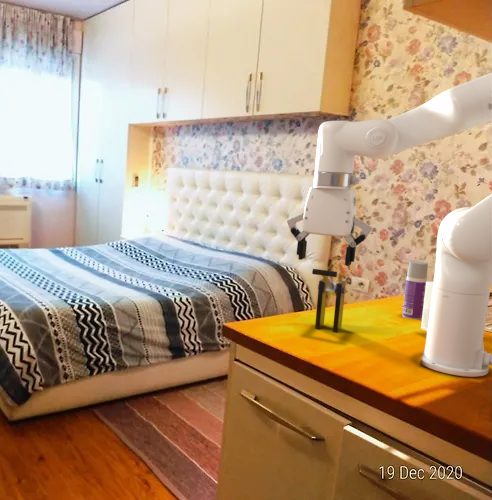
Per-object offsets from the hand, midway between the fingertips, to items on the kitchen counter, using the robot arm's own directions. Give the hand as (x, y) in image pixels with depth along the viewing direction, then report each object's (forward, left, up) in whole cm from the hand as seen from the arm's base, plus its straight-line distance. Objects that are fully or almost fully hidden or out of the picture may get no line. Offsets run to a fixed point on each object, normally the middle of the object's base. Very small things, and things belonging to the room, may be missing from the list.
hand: (324, 261), depth 110 cm
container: (-15, -39, -19) cm, 46 cm away
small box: (-23, -24, -19) cm, 38 cm away
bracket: (0, -9, -18) cm, 20 cm away
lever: (0, -4, -6) cm, 7 cm away
